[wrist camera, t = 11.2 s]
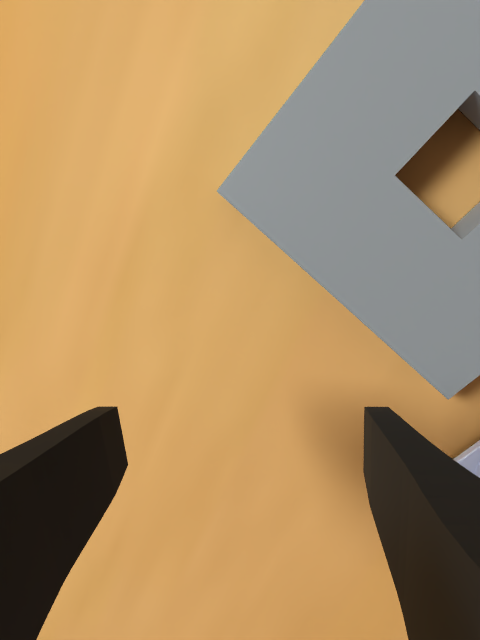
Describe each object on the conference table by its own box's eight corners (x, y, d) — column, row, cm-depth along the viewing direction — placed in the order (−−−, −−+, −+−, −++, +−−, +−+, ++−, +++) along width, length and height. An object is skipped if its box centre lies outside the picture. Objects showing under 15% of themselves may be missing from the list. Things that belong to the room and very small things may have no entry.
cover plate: (716, 149, 15) (777, 141, 13) (433, 380, 19) (448, 399, 17) (469, -119, 14) (497, -171, 12) (224, 192, 18) (216, 191, 16)
